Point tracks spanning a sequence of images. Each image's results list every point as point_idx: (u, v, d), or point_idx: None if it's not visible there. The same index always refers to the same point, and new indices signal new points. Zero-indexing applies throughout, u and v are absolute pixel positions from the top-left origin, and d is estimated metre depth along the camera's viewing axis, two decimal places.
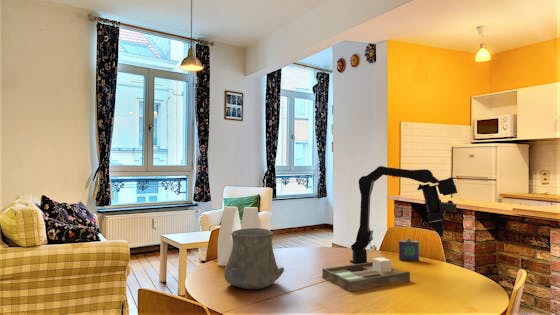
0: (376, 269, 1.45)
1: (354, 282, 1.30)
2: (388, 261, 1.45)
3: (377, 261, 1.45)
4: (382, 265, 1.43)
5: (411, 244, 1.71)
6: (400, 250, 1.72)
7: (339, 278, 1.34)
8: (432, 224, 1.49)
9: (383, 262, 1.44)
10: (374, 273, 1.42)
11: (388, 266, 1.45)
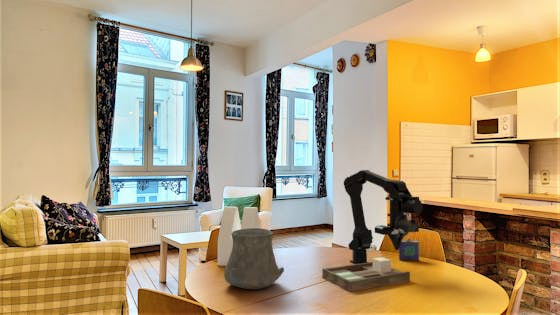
0: (376, 269, 1.45)
1: (354, 282, 1.30)
2: (388, 261, 1.45)
3: (377, 261, 1.45)
4: (382, 265, 1.43)
5: (411, 244, 1.71)
6: (400, 250, 1.72)
7: (339, 278, 1.34)
8: (389, 235, 1.51)
9: (383, 262, 1.44)
10: (374, 273, 1.42)
11: (388, 266, 1.45)
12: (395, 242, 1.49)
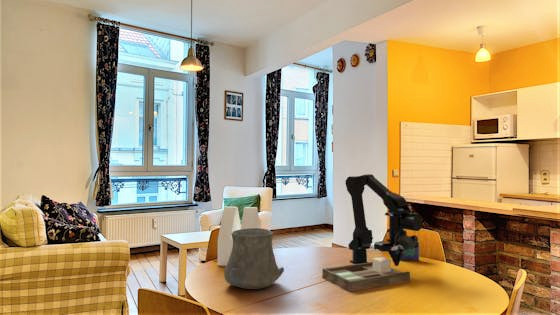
0: (376, 269, 1.45)
1: (354, 282, 1.30)
2: (388, 261, 1.45)
3: (377, 261, 1.45)
4: (382, 265, 1.43)
5: None
6: None
7: (339, 278, 1.34)
8: (389, 251, 1.51)
9: (383, 262, 1.44)
10: (374, 273, 1.42)
11: (388, 266, 1.45)
12: (395, 258, 1.49)
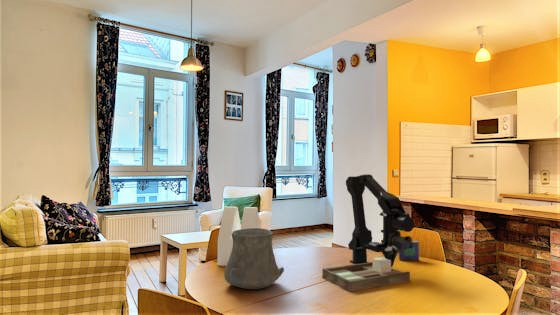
0: (376, 269, 1.45)
1: (354, 282, 1.30)
2: (388, 261, 1.45)
3: (377, 261, 1.45)
4: (382, 265, 1.43)
5: None
6: None
7: (339, 278, 1.34)
8: (383, 251, 1.49)
9: (383, 262, 1.44)
10: (374, 273, 1.42)
11: (388, 266, 1.45)
12: (389, 259, 1.47)
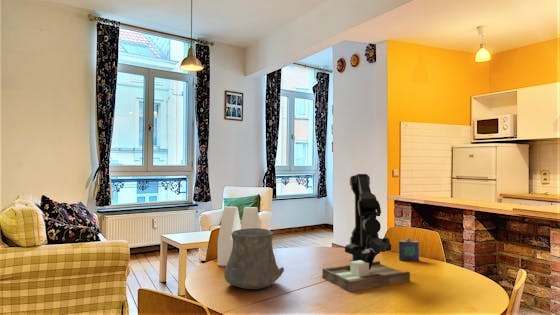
0: (354, 272, 1.40)
1: (354, 282, 1.30)
2: (366, 264, 1.40)
3: (355, 264, 1.40)
4: (359, 268, 1.38)
5: (411, 244, 1.71)
6: (400, 250, 1.72)
7: (339, 278, 1.34)
8: (360, 254, 1.45)
9: (360, 265, 1.39)
10: (374, 273, 1.42)
11: (366, 270, 1.40)
12: (366, 261, 1.43)
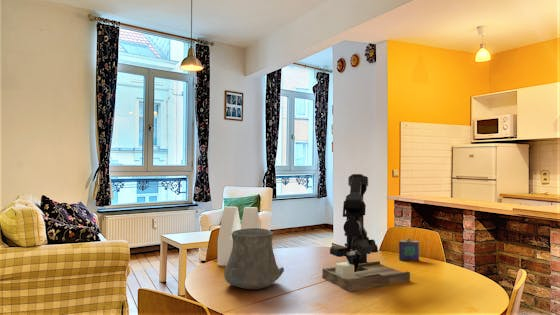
0: (339, 275, 1.38)
1: (354, 282, 1.30)
2: (351, 266, 1.37)
3: (340, 266, 1.37)
4: (344, 270, 1.36)
5: (411, 244, 1.71)
6: (400, 250, 1.72)
7: (339, 278, 1.34)
8: (346, 256, 1.42)
9: (345, 267, 1.36)
10: (374, 273, 1.42)
11: (351, 272, 1.37)
12: (352, 264, 1.40)
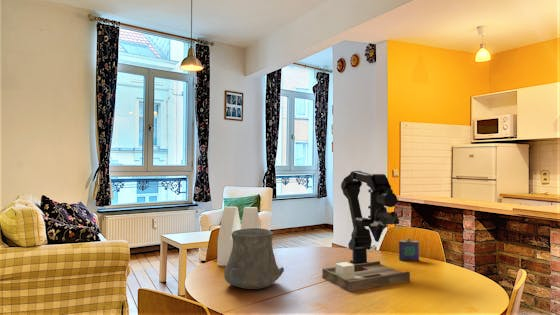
0: (339, 275, 1.38)
1: (354, 282, 1.30)
2: (351, 266, 1.37)
3: (340, 266, 1.37)
4: (344, 270, 1.36)
5: (411, 244, 1.71)
6: (400, 250, 1.72)
7: (339, 278, 1.34)
8: (369, 227, 1.54)
9: (345, 267, 1.36)
10: (374, 273, 1.42)
11: (351, 272, 1.37)
12: (375, 234, 1.52)
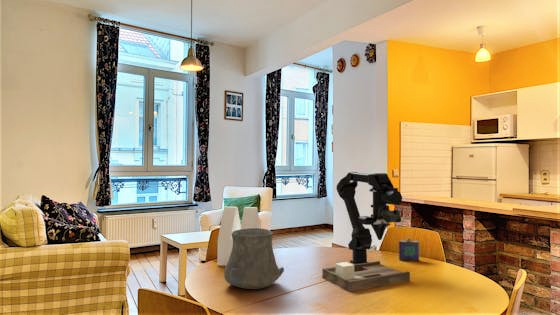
0: (339, 275, 1.38)
1: (354, 282, 1.30)
2: (351, 266, 1.37)
3: (340, 266, 1.37)
4: (344, 270, 1.36)
5: (411, 244, 1.71)
6: (400, 250, 1.72)
7: (339, 278, 1.34)
8: (372, 225, 1.56)
9: (345, 267, 1.36)
10: (374, 273, 1.42)
11: (351, 272, 1.37)
12: (378, 232, 1.54)
